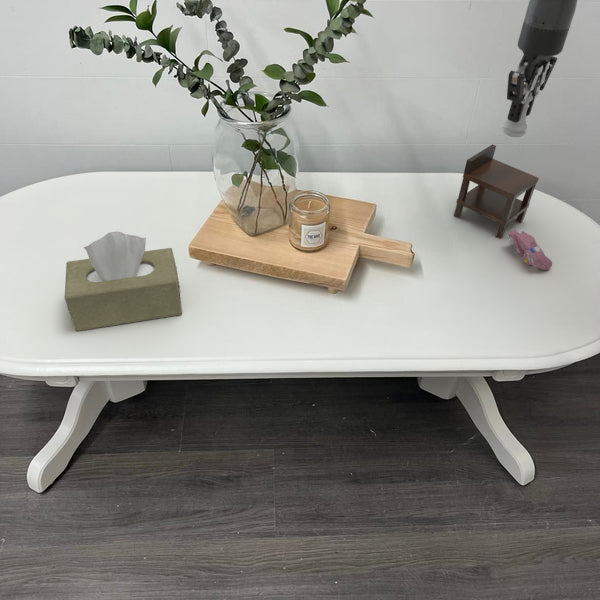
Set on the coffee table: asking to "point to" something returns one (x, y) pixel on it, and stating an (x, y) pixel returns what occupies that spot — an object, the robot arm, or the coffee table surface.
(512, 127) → the rook chess piece
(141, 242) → the tissue box
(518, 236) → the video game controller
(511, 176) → the stand
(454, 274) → the coffee table surface
